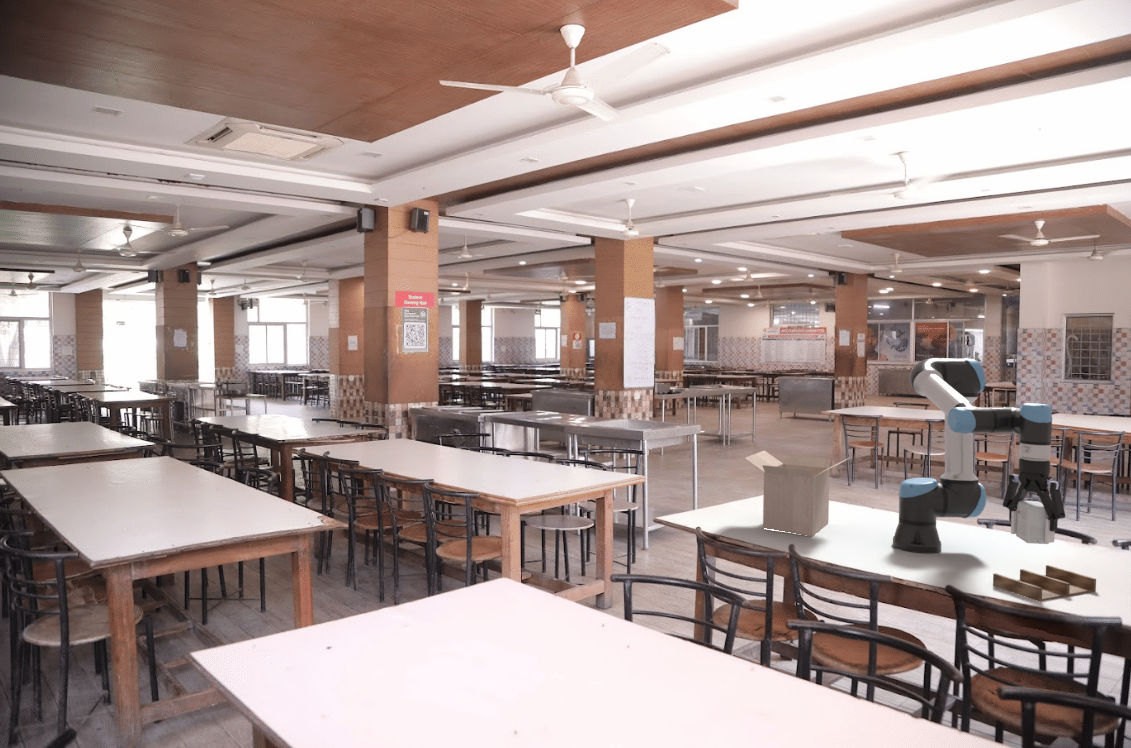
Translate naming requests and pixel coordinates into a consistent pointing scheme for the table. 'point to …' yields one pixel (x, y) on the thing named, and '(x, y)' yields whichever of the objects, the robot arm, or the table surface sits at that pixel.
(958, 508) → the robot arm
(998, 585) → the rack
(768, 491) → the box
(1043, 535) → the small box
